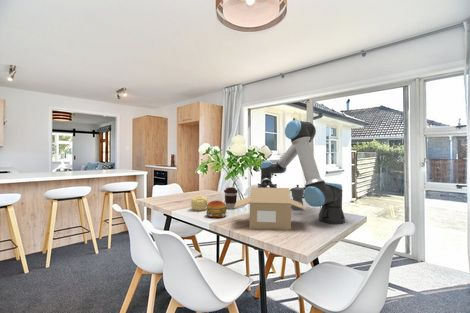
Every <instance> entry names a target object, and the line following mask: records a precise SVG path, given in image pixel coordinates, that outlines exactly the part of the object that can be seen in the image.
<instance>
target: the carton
mask: <svg viewBox="0 0 470 313" xmlns="http://www.w3.org/2000/svg"><path fill="white" fill-rule="evenodd" d="M250 202H251V196H248V197H246V198H242V199H239V200H236V204H235V207H234V209H233V210H235V209H238V208H241V207H244V206H246V205H249V229H250V230H268V231H269V230H270V231H271V230H274V231H275V230H276V231H291V230H292V209H291V205H294V206H296V207H299V208H301V209H303V210H305V211H308V209H307V207H305V206H304V204H303V205H302V204H301V203H300V202H297V201H295V200H293V198H290V203H291V204H277V203H250Z"/></svg>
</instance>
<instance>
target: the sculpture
mask: <svg viewBox="0 0 470 313" xmlns="http://www.w3.org/2000/svg"><path fill="white" fill-rule="evenodd" d="M207 204H208V197H207V196H204V195H201V194H198V195H194V196H193V197H191V202H190V206H191V209H192V210H193V211H195V212H202V211H206V208H207Z"/></svg>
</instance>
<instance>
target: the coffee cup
mask: <svg viewBox="0 0 470 313" xmlns="http://www.w3.org/2000/svg"><path fill="white" fill-rule="evenodd" d="M223 192H224V203H225V205H226V207H227V208H226V210H235V209H234V207H235V204H236V201H237V198H238V196H237V193H238V190H237V189H236V188H235V187H231V186H230V187H226V188H225V189H224V190H223Z"/></svg>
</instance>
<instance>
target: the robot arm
mask: <svg viewBox="0 0 470 313" xmlns="http://www.w3.org/2000/svg"><path fill="white" fill-rule="evenodd" d="M316 132H317V130H316V127H315V125H314V124H313V123H312V122H309V121H302V120H290V121H289V122H288V123H287V124H286V125H285V128H284V135H285V137H286V138H287V139H289V140H290V142H291V145H290V146H289V147H288V149H287V150H286V151H285V152H284V153H283V154H282V156H281V157H280V159H279V160H277V162H276V163H272V161H271V160H269V161H268V160H262V161H261V162H260V183H257V188H278V187H277V186H278V185H277V183H275V184H274V183H273V181H272V174H273V175H274V174H285V172H286V171H287V168H288V166H289V165H290V164H291V162H292V161H293V160H294V159H295V158H296V157H298V159H299V163H300V166H301V170H302V173H303V176H304V180H305V184H304V187H305V190H304V193H303V196H304V198H303V199H304V201H305V203H306V204H308V205H309V206H310V207H313V208H314V207H316V208H319V207H321V208H320V210H319V214H318V220H319V221H321V222H323V223H328V224H334V225H335V224H345V223H346V216H345V212H344V210H343V186H342V184H340V183H335V182H334V183H333V182H327V181H326V180H324V179H323V178H321V175H320V172H319V169H318V165H317V162H316V160H315V156H314V154H313V150H312V147H311V142H312V141H313V139H315V136H316ZM325 181H326V182H325Z"/></svg>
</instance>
